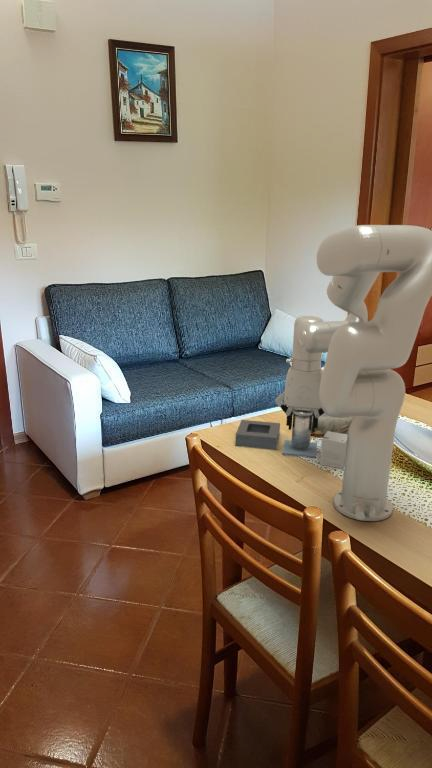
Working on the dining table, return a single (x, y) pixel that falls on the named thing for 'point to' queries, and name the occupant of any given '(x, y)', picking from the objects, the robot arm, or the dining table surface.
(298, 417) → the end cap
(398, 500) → the dining table surface
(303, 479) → the dining table surface
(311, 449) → the mat
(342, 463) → the skincare box
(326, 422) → the decorative bird
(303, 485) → the dining table surface
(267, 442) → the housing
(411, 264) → the robot arm
